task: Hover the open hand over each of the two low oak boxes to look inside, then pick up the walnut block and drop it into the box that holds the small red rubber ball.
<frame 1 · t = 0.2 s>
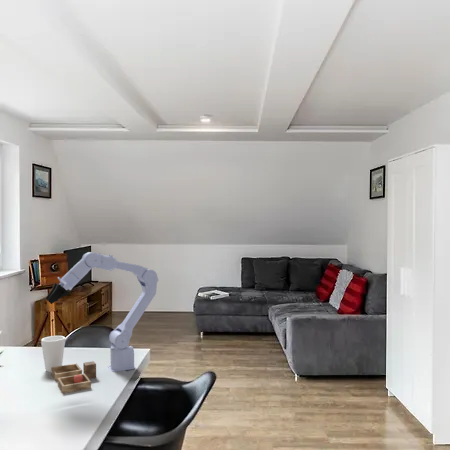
hand: (48, 301, 176), 31 cm above the table, tool tilted 45°, fingers open, 7 cm apart
walnut block: (89, 378, 178), on the table
box empty: (66, 376, 181), on the table
foam cup: (53, 369, 190), on the table
box with ball: (74, 387, 168), on the table
red ball: (78, 383, 170), resting on box with ball
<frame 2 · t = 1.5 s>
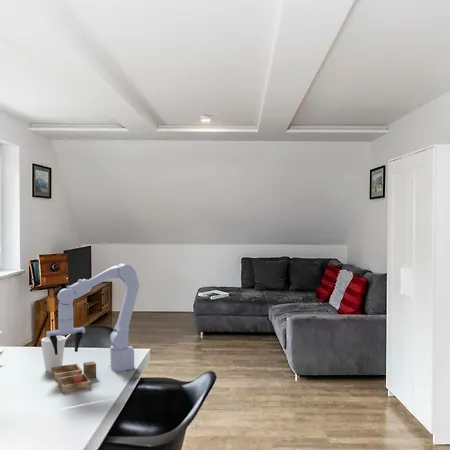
hand: (66, 352, 181), 9 cm above the table, tool pointing down, fingers open, 7 cm apart
nothing on the table moved.
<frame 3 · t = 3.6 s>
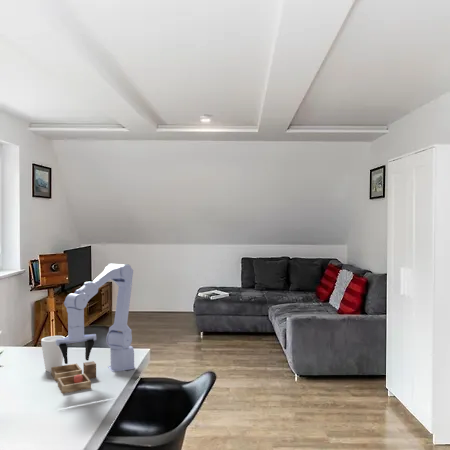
hand: (76, 361, 169), 9 cm above the table, tool pointing down, fingers open, 7 cm apart
nothing on the table moved.
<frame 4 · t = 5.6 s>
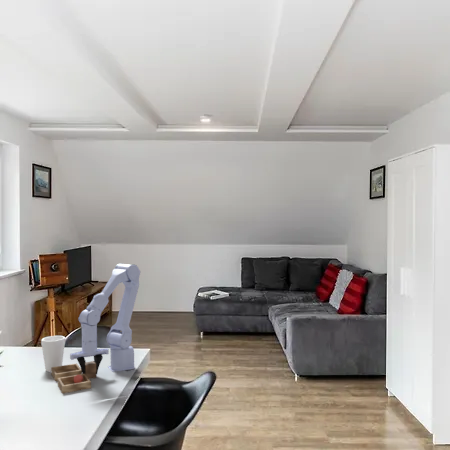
hand: (89, 374, 178), 1 cm above the table, tool pointing down, fingers closed on walnut block, 4 cm apart
walnut block: (89, 378, 178), on the table, touching gripper
everything else where it was.
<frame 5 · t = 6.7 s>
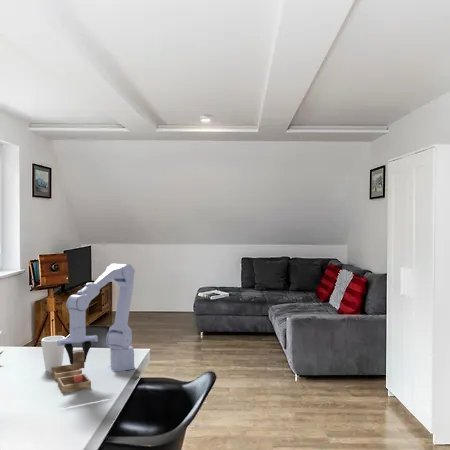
hand: (77, 362, 170), 9 cm above the table, tool pointing down, fingers closed on walnut block, 4 cm apart
walnut block: (77, 367, 170), point 7 cm above the table, touching gripper
everything else where it was.
when the fingers open (4 cm above the table, at t = 8.1 s): walnut block drops 2 cm, resting on box with ball.
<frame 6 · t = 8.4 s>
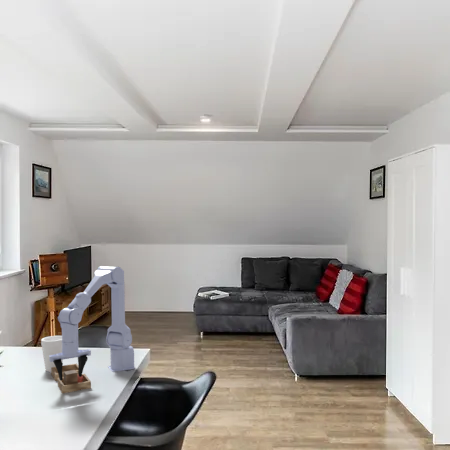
hand: (70, 377, 166), 4 cm above the table, tool pointing down, fingers open, 6 cm apart
walnut block: (70, 388, 166), resting on box with ball
everything else where it was.
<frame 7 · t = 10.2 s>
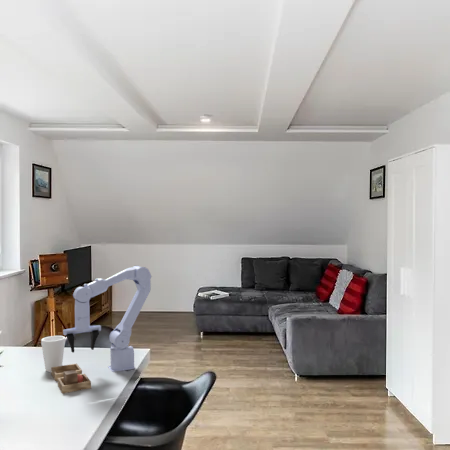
hand: (82, 350, 182), 10 cm above the table, tool pointing down, fingers open, 7 cm apart
nothing on the table moved.
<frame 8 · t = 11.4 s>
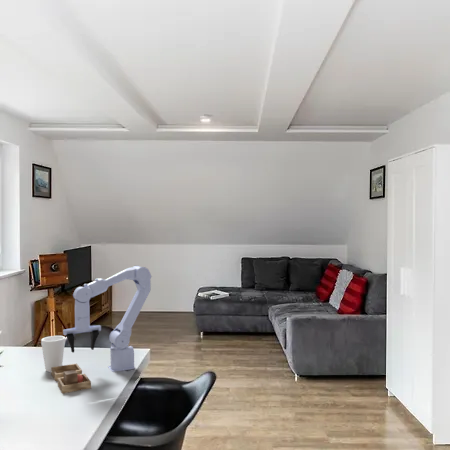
hand: (82, 350, 182), 10 cm above the table, tool pointing down, fingers open, 7 cm apart
nothing on the table moved.
at the end: walnut block inside the target area on the box with ball (2.1 cm from its centre), point 0.5 cm above the box with ball's base; red ball inside the target area on the box with ball (2.8 cm from its centre), point 0.5 cm above the box with ball's base; the gripper is holding nothing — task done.
